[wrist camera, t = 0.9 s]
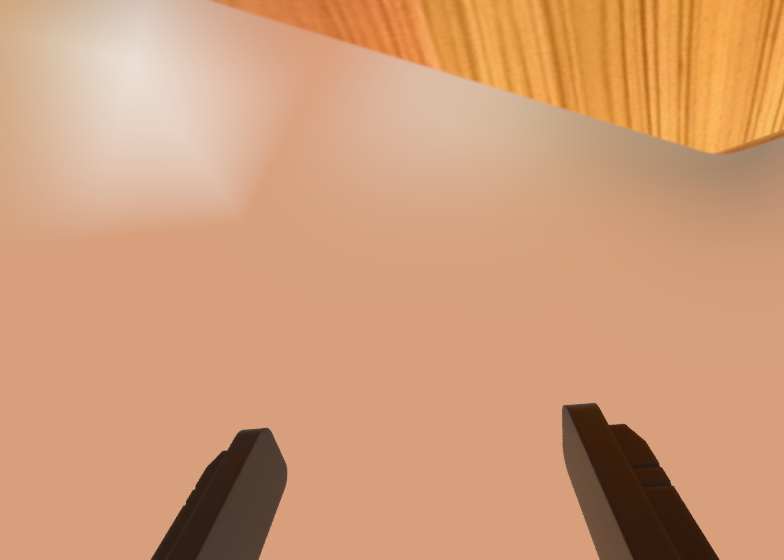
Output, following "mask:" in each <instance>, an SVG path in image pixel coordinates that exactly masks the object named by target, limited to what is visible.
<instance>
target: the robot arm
mask: <svg viewBox="0 0 784 560" xmlns="http://www.w3.org/2000/svg"><path fill="white" fill-rule="evenodd" d="M562 422H563V423H562V428H563V453H564V459H565V464H566V467H567V471H568V474H569V477H570V480H571V482H572V485H573V488H574V490H575V493H576V496H577V498H578V501H579V504H580V507H581V510H582V512H583V515H584V518H585V520H586V523H587V526H588V529H589V532H590V534H591V537H592V540H593V542H594V545H595V548H596V551H597V553H598V556H599V559H600V560H719V558H718V557H717V555H716V554H715V552H714V550H713V549H712V547H711V546H710V544H709V542H708V541H707V539H706V537H705V536H704V534H703V533H702V531H701V529H700V528H699V526H698V525H697V523H696V522H695V520H694V518H693V517H692V515H691V513H690V512H689V510H688V509H687V507H686V505H685V504H684V502H683V501H682V499H681V498H680V496H679V494H678V493H677V491H676V489H675V488H674V486H672V485H671V483H670V480H669V478H668V477H667V475H666V473H665V472H664V470H663V469H662V467H660V466H659V462H658V461H657V459H656V457H655V456H654V454H653V452H652V451H651V450H650V448H649V446H648V444H647V443H646V441H645V440H643V439H642V438H641V437H640V436H639V435H637V434H636V433H635V432H634V431H633V430H631V429H630V428H629V427H628V426H627V425H625V424H618V425H608V423H607V421H606V419H605V418H604V416H603V414H602V412H601V410H600V408H599V407H598V405H597V404H596V403H588V404H576V405H564V406H563V409H562ZM286 481H287V466H286V463H285V461H284V458H283V456H282V454H281V452H280V450H279V448H278V446H277V443H276V441H275V439H274V436H273V434H272V432H271V431H270V430H269V429H268V428H261V429H250V430H241V431H240V432H238V434H237V435H236V437H235V438H234V440H233V442H232V444H231V445H230V447H229V449H228V450H227V451H222V452H221V453H220V454H219V455H218V456H217V458H216V459H214V460H213V461H212V463H211V464H210V465H208V466H207V468H206V469H205V471H204V473H203V474H202V476H201V478H200V479H199V481H198V483H197V484H196V488H195V490H193V491H192V493H191V494H190V496H189V497H188V499H187V501H186V505H185V506H183V507H182V509H181V511H180V512H179V514H178V516H177V517H176V519H175V521H174V522H173V524H172V526H171V527H170V529H169V531H168V532H167V534H166V535H165V537H164V539H163V540H162V542H161V544H160V545H159V547H158V549H157V550H156V552H155V554H154V555H153V557H152V559H151V560H258V559H259V556H260V554H261V551H262V548H263V545H264V543H265V540H266V537H267V535H268V532H269V529H270V527H271V524H272V522H273V519H274V516H275V513H276V511H277V508H278V505H279V503H280V500H281V497H282V494H283V492H284V489H285V486H286Z"/></svg>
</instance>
